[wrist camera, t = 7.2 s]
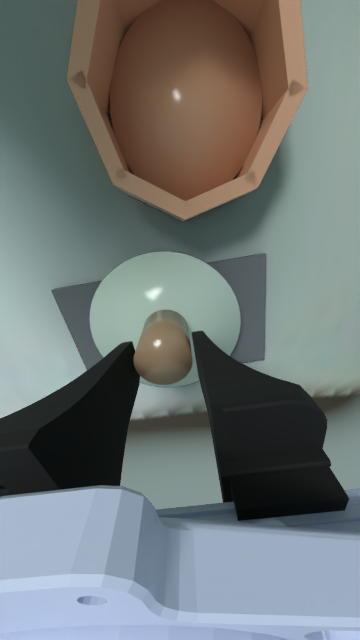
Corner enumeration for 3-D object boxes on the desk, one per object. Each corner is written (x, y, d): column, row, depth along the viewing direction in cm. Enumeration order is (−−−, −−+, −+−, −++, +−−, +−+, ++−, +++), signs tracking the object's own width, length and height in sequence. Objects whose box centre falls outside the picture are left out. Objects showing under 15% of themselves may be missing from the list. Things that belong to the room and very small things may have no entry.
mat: (263, 253, 13) (266, 253, 12) (262, 356, 16) (264, 359, 16) (54, 288, 13) (51, 290, 13) (94, 380, 17) (93, 383, 16)
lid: (264, 289, 13) (304, 317, 9) (197, 392, 17) (204, 444, 13) (120, 220, 11) (89, 215, 7) (80, 353, 15) (45, 399, 11)
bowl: (308, 56, 9) (355, -6, 7) (220, 239, 12) (230, 242, 10) (130, -78, 8) (108, -218, 5) (82, 172, 11) (55, 155, 8)
